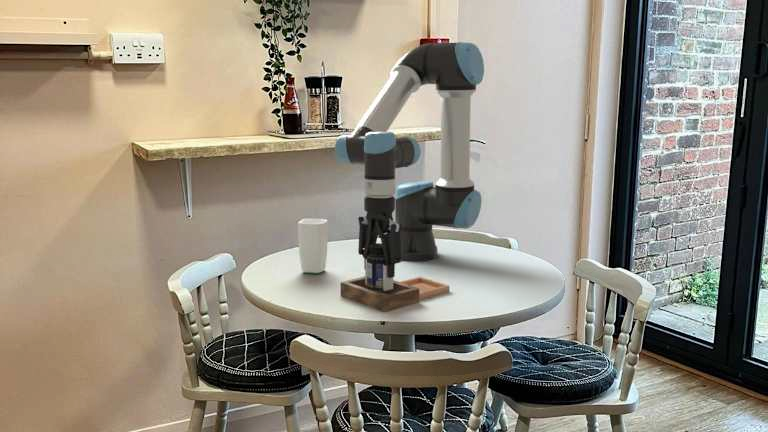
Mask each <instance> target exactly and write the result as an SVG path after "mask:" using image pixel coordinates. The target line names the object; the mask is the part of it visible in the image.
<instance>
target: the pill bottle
mask: <svg viewBox="0 0 768 432" xmlns="http://www.w3.org/2000/svg"><path fill="white" fill-rule="evenodd" d="M369 250H370V254H369V255H368V256H367V288H368V289H370V290H372V291H375V292H381V291H384V290H383V265H384V263H386V262H385V257H384V252H383V247H382V242H381V243H379V242H378V243H377V242H376V243H375V244H371V245H370V247H369ZM390 260H391V258H390Z"/></svg>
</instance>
